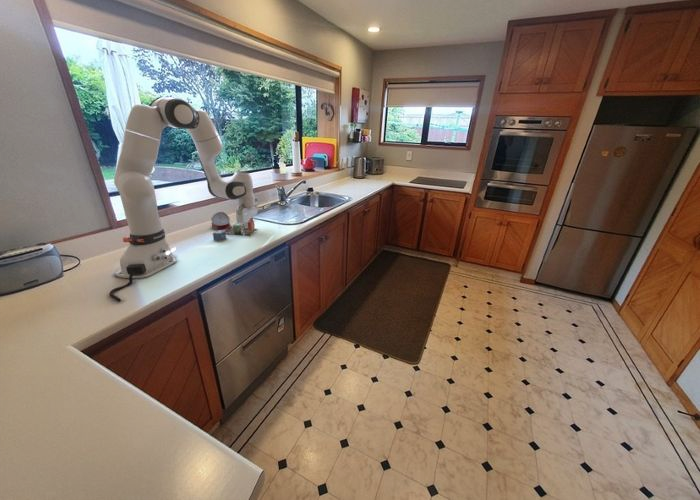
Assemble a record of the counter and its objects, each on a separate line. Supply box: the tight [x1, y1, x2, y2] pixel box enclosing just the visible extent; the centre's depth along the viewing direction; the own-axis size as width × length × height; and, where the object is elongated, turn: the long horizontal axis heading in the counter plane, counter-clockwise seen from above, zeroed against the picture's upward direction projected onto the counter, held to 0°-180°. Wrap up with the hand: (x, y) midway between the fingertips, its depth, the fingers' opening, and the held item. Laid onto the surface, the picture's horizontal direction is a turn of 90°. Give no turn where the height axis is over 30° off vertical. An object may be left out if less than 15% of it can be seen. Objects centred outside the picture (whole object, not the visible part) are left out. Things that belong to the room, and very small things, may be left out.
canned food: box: [210, 211, 231, 231], centre depth 164 cm, size 11×10×10 cm
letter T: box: [212, 230, 227, 242], centre depth 147 cm, size 4×4×4 cm
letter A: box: [232, 222, 245, 233], centre depth 158 cm, size 4×4×4 cm
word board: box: [224, 226, 258, 237], centre depth 159 cm, size 12×17×1 cm
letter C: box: [243, 219, 256, 231], centre depth 156 cm, size 4×4×4 cm
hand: (249, 226), depth 157 cm, fingers closed on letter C, 4 cm apart
